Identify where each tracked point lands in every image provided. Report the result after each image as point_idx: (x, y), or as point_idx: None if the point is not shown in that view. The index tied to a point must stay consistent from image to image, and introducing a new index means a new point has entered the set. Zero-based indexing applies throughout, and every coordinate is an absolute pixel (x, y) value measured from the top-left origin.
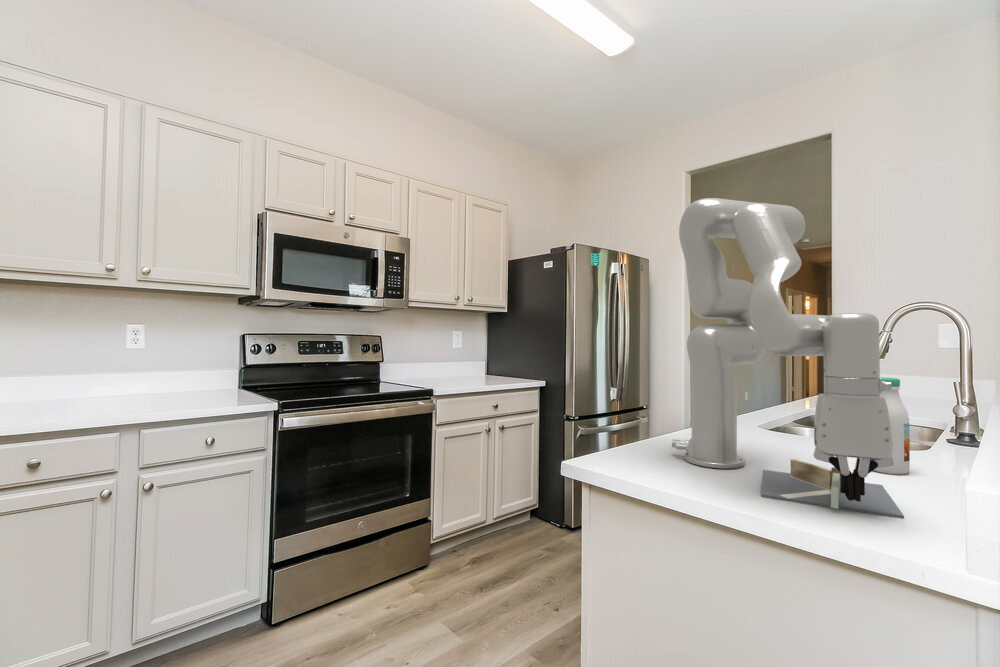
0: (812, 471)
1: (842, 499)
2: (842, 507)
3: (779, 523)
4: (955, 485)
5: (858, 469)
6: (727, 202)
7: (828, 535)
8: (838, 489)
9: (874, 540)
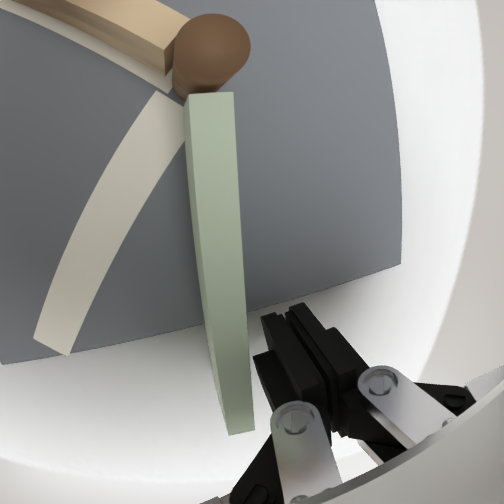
0: (65, 9)
1: None
2: None
3: (143, 481)
4: None
5: (368, 449)
6: None
7: (233, 475)
8: (253, 420)
9: None
